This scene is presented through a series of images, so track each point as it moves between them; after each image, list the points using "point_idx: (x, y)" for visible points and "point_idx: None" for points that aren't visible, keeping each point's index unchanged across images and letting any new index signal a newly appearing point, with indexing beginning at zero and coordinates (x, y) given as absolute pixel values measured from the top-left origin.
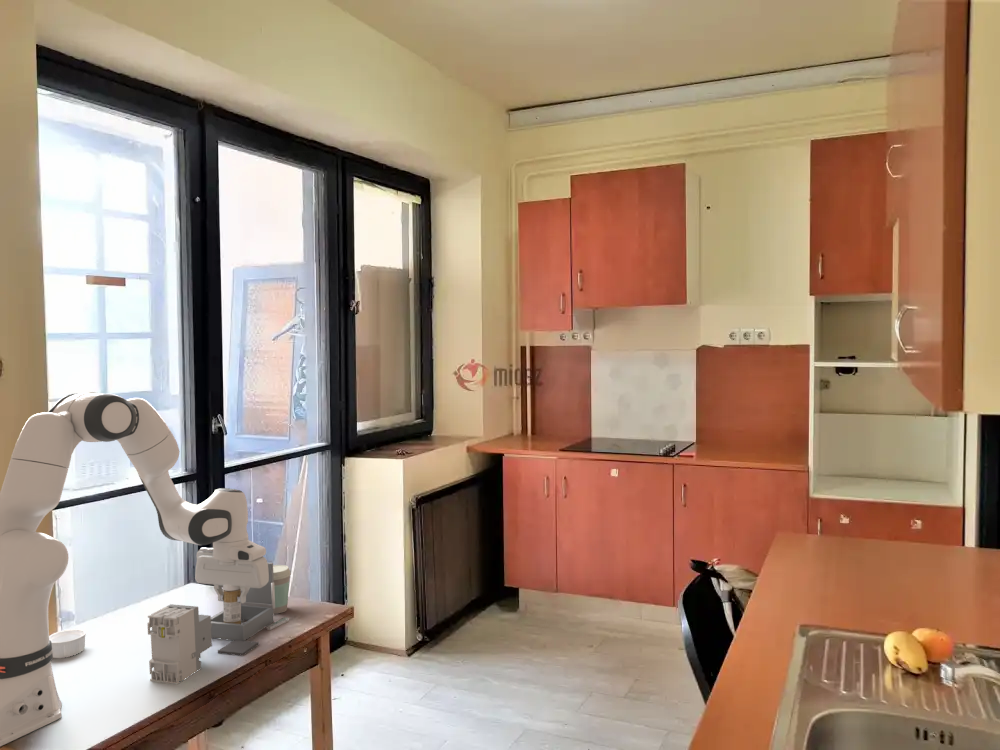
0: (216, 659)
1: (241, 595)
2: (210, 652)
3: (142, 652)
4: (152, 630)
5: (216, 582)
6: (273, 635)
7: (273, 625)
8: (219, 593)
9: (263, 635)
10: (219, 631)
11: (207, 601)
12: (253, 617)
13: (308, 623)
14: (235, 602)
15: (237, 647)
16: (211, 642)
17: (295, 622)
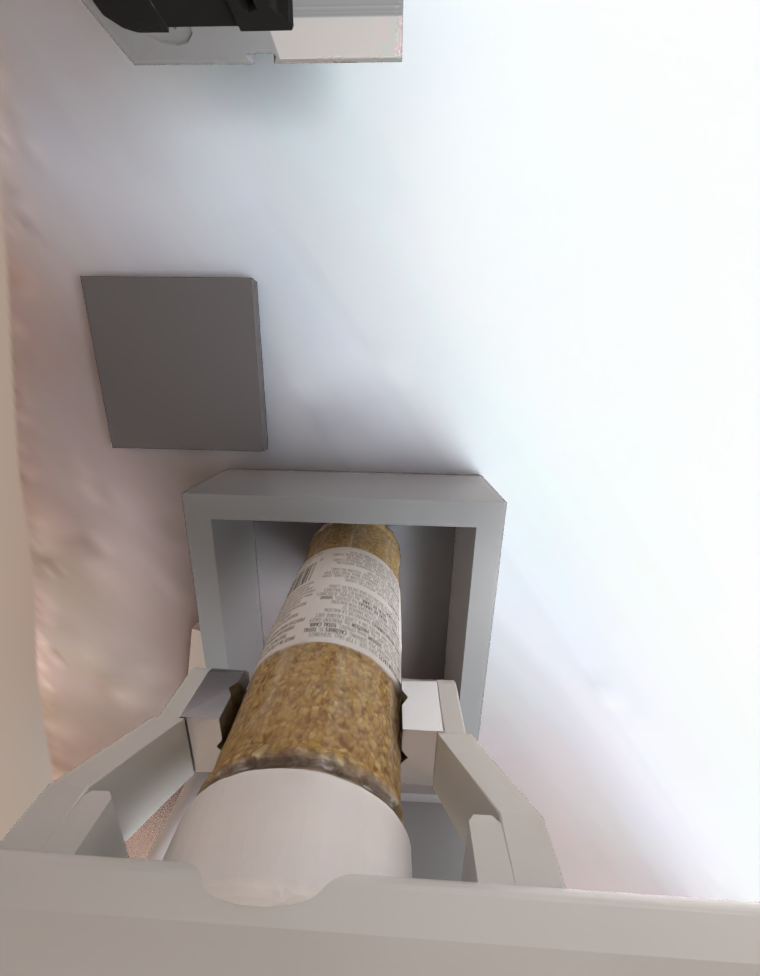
0: (200, 185)
1: (148, 730)
2: (307, 281)
3: (754, 170)
4: None
5: (496, 938)
6: (137, 564)
7: (190, 647)
8: (449, 750)
9: (184, 555)
10: (374, 483)
11: (703, 850)
12: (220, 629)
13: (87, 706)
14: (258, 665)
15: (170, 350)
16: (110, 30)
17: (150, 708)
